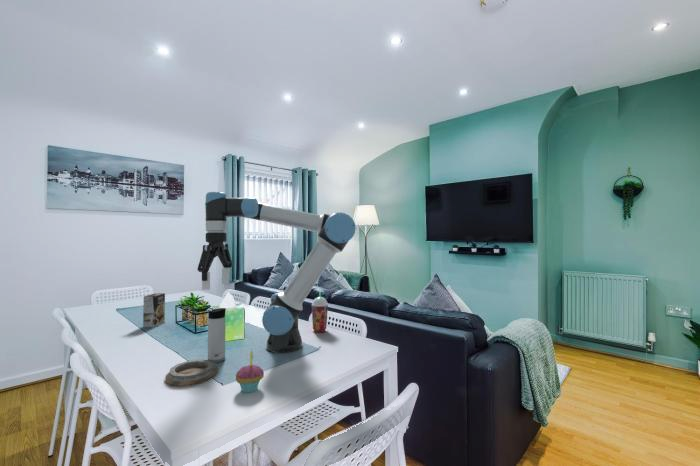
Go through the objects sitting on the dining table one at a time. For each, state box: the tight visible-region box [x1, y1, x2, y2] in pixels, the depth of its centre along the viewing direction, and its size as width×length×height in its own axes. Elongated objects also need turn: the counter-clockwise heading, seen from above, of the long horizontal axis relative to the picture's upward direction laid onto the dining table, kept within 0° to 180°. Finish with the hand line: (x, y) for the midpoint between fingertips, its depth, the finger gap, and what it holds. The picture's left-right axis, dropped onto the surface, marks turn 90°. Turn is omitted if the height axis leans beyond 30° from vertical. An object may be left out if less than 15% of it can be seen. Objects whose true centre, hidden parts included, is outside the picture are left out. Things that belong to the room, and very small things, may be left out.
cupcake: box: [235, 348, 265, 394], centre depth 101 cm, size 9×8×12 cm
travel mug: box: [207, 307, 227, 364], centre depth 124 cm, size 6×7×20 cm
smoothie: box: [310, 291, 329, 334], centre depth 162 cm, size 8×8×20 cm
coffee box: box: [142, 292, 166, 328], centre depth 170 cm, size 9×6×16 cm
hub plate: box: [164, 358, 218, 387], centre depth 111 cm, size 16×16×3 cm
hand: (216, 286), depth 125 cm, fingers open, 13 cm apart
